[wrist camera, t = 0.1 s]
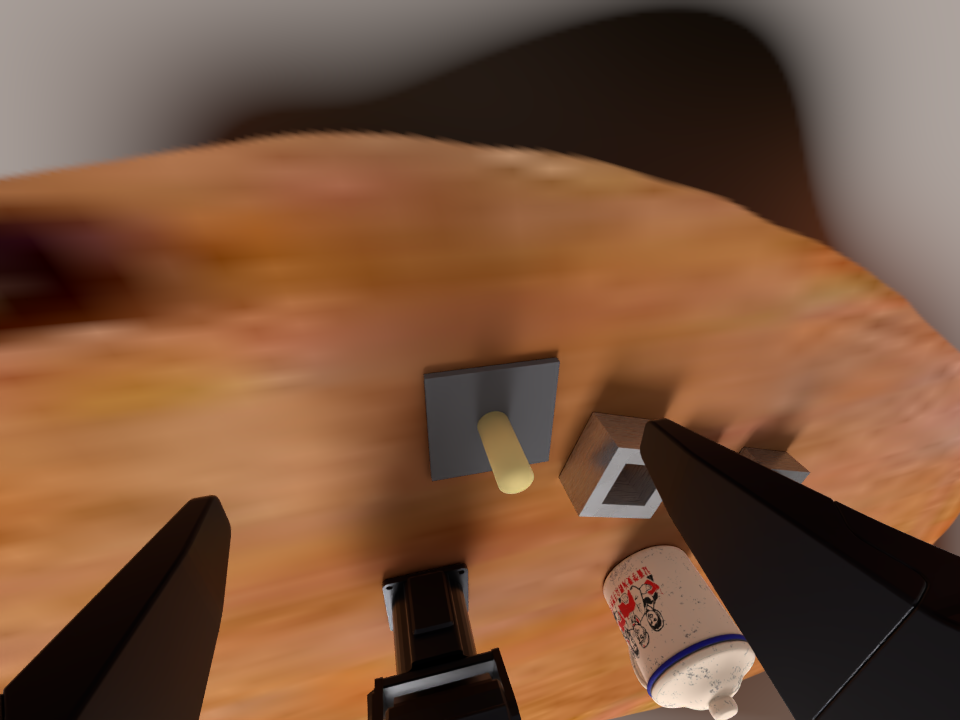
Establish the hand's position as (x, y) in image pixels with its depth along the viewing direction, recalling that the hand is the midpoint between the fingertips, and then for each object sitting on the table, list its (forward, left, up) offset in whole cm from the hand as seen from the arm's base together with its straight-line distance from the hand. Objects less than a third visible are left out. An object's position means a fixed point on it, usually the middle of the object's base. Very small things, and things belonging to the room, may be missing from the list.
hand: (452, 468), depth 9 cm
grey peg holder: (-11, -5, -15) cm, 19 cm away
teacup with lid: (-34, -20, -15) cm, 42 cm away
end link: (-16, -14, -15) cm, 26 cm away
